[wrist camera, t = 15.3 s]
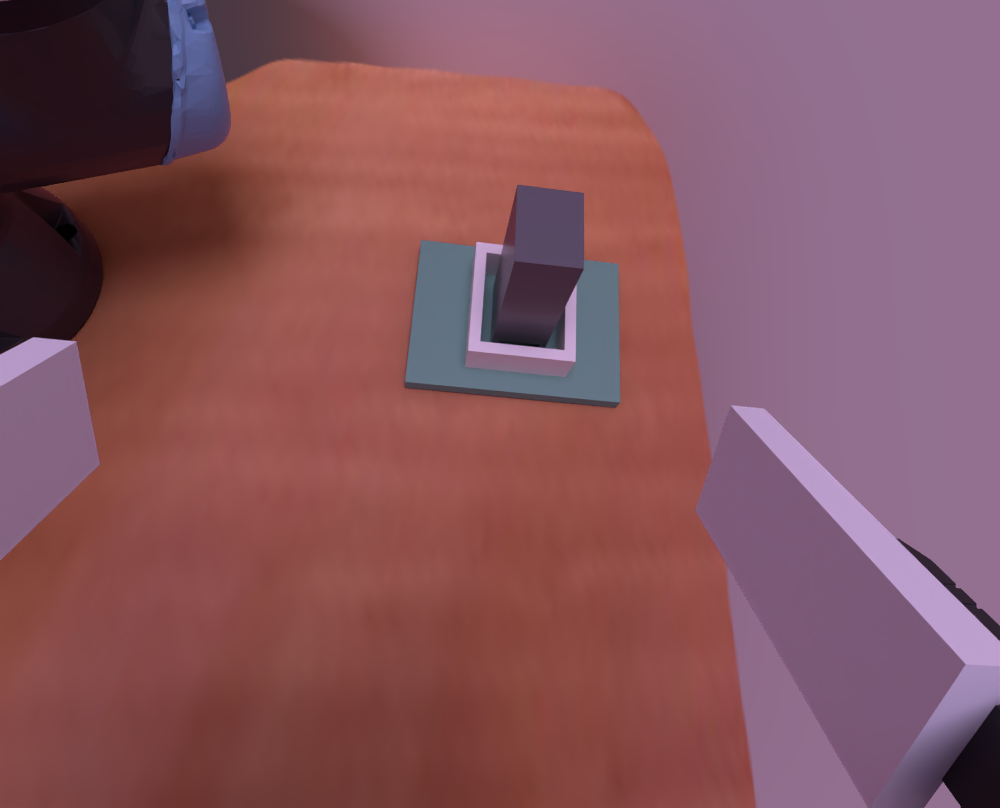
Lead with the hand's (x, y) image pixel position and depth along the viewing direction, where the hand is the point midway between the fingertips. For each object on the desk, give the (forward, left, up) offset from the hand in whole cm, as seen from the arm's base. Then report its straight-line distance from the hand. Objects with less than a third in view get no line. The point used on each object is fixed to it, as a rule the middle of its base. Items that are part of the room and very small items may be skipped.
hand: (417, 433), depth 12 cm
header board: (+1, +19, -30) cm, 35 cm away
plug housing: (+1, +19, -28) cm, 34 cm away
